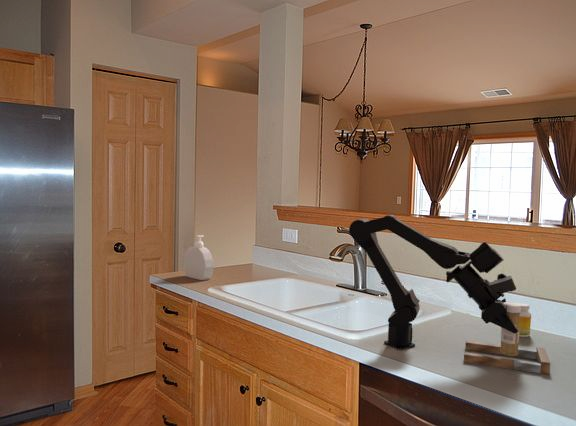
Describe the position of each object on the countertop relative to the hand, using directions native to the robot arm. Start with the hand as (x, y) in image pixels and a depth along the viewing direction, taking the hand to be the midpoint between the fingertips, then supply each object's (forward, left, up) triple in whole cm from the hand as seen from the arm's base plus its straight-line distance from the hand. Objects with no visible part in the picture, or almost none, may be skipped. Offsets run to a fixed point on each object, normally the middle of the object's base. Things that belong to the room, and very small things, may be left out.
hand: (516, 330), depth 128 cm
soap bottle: (-34, +138, -9) cm, 143 cm away
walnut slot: (-1, +2, -8) cm, 9 cm away
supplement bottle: (+23, +13, -9) cm, 28 cm away
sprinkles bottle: (-1, +1, -7) cm, 7 cm away
